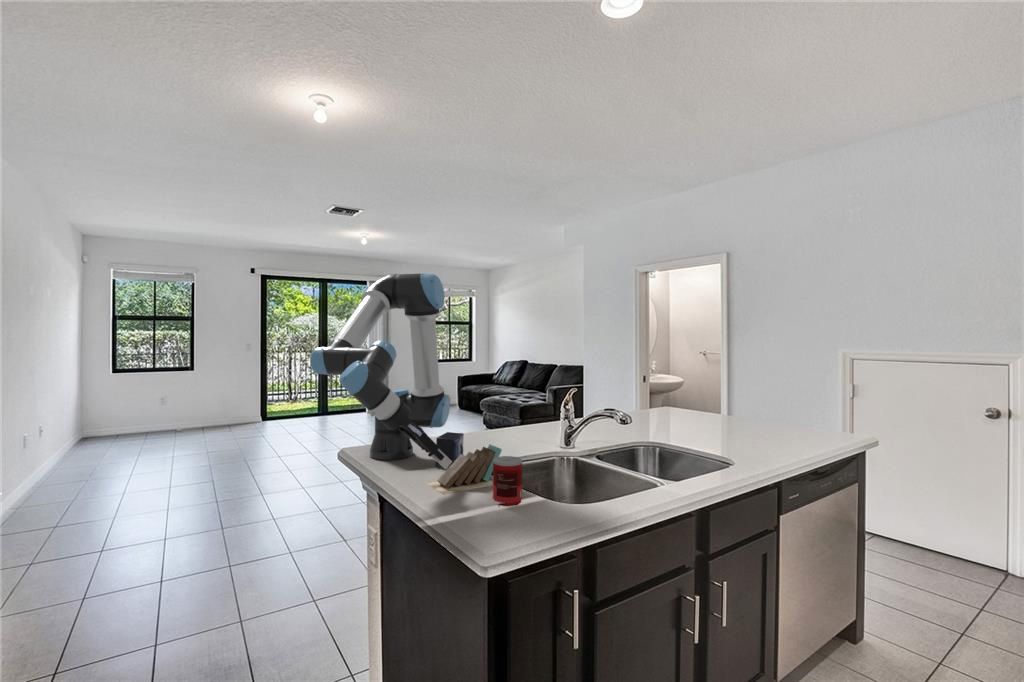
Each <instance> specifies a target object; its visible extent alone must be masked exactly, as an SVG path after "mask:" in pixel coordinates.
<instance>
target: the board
mask: <svg viewBox="0 0 1024 682" xmlns="http://www.w3.org/2000/svg"><path fill="white" fill-rule="evenodd" d="M425 484H427V485H428V486H429V487H431V488H433V489H434V490H436V491H437V492H439V493H441V494H442V495H449V494H454V493H461V492H464V491H465V492H466V491H469V490H476V489H480V488H486V487H491V486H492V487H493V480H490V479H489V480H488V482H487V481H485V480H483V479H481V480H480V481H479V483H477V482H475V481H473V480H472V481H471V483H470V484H469V485H467V484H465V483H464V482H462V483H461V485H460V486H459V487H457V486H456V485H454V484H452V485H451V486H450V488H449V489H447V488H446V487H444V486H442V485H441V484H440V483H439V482H438V481H437V480H433V481H428V482H425Z"/></svg>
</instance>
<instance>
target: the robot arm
mask: <svg viewBox="0 0 1024 682" xmlns="http://www.w3.org/2000/svg"><path fill="white" fill-rule="evenodd" d="M445 296H446V295H445V289H444V287H443V283H442V281H441V278H440V277H438V275H437V274H433V273H425V272H424V273H392V274H388V275H385V276H383V277H381V278H379V279H378V280H376V281H375V282H374V283H372V284H371V285H370V286H368V288H366V290H365V291H364V292H363V293H362V295H361V298H360V303H359V304H358V305H357V307H356V308H355V309H354V311H353V312H352V314H351V315H350V317H349V318H348V319H347V320H346V322H345V323H344V324H343V325H342V327H341V328H340V329H339V331H338V332H337V334H336V335H335V336H334V337H333V339H332V340H331V342H330V343H329V344H328V345H327V346H320V347H316V348H314V349H313V350H312V352H311V354H310V360H309V362H310V363H309V364H310V366H311V369H312V371H313V372H314V373H315V374H318V375H327V376H339V378H338V379H339V381H338V382H339V383H340V384H341V386H342V387H343V388H344V389H345V391H347V393H348V394H350V395H351V396H352V397H353V398H354V399H356V401H358V403H360V404H361V405H362V406H364V408H366V410H367V411H368V412H370V414H369V416H371V417H374V435H373V439H372V441H371V445H370V448H369V457H370V458H371V459H375V460H379V461H380V460H381V461H383V460H384V461H391V460H401V459H406V458H409V457H412V456H413V455H414V447H413V444H412V442H414V443H415V444H416V445H417V446H418V447H419V448H421V450H423V451H424V452H426V453H427V456H428V457H429V458H430V457H431V458H432V459H434V461H435V462H436V461H437V462H438V463H439V464H440V465H441V466H442V467H443V468H442V469H445V470H447V469H448V466H449V465H450V464H451V463H452V461H451V460H450V459H449V458H448V457H447V456H446V455H445V454H444V453H443V452H442V451H441V450H440V449H439V446H438V445H436V442H434V440H432V438H431V437H430V436H429V435H428V434H427V433H426V432H425V430H423V428H430V429H433V428H442V427H444V426H445V425H446V423H447V421H448V418H449V414H450V410H451V397H450V395H449V394H446V393H445V388H444V387H443V386H442V385H441V384H440V376H439V375H440V374H439V359H438V358H439V355H438V342H437V327H436V326H437V324H436V323H437V322H436V318H437V316H439V314H440V310H441V309H443V308H444V306H445V298H446V297H445ZM393 309H394V310H395V309H399V310H400V309H403V310H404V316H405V317H406V318H407V319H409V327H410V340H411V343H410V344H411V354H412V365H413V366H412V368H413V381H414V386H413V387H412V389H411V390H410V392H409V389H406V388H402V389H396V390H395V389H393V390H392V389H391V388H389V387H388V386H387V385H386V384H385V383H384V381H385V379H386V378H387V376H388V373H389V372H390V371H391V369H392V367H393V366H394V363H395V360H396V359H397V358H396V357H397V350H396V348H395V347H394V345H392V344H391V343H390V342H389V341H385V340H377V341H374V342H373V343H372V344H371V345H370V346H369V347H363V346H362V345H363V344H364V343H365V341H366V340H367V338H368V337H369V335H370V334H371V332H372V331H373V329H374V328H375V326H376V325H377V323H378V321H379V319H380V318H381V317H382V316H384V315H386V314H387V313H388V312H389V311H390V310H393Z"/></svg>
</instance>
